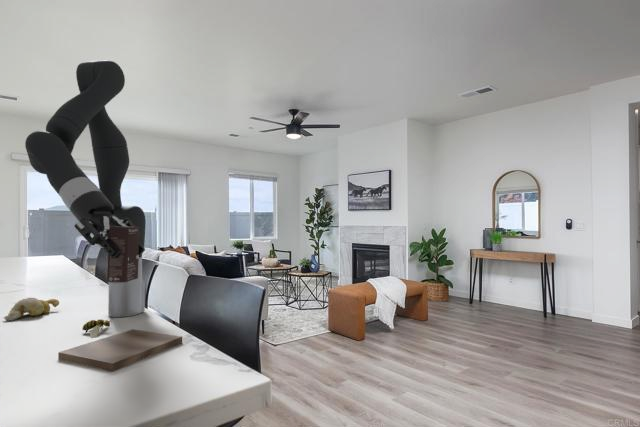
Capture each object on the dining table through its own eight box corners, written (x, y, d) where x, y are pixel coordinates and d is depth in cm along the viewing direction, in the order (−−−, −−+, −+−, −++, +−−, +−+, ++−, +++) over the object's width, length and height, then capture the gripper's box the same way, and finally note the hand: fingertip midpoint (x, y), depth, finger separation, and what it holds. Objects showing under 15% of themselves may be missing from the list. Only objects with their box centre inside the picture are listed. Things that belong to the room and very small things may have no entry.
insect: (88, 320, 102) (96, 304, 102) (110, 327, 104) (118, 311, 104) (73, 340, 91) (82, 321, 91) (98, 347, 93) (107, 329, 93)
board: (132, 335, 94) (132, 329, 94) (182, 343, 88) (182, 336, 88) (58, 359, 78) (58, 352, 78) (112, 371, 71) (112, 363, 71)
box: (127, 283, 80) (128, 226, 81) (106, 283, 80) (106, 226, 80) (140, 278, 86) (140, 226, 87) (120, 278, 86) (120, 226, 86)
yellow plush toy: (-5, 299, 111) (52, 288, 124) (-5, 319, 112) (52, 306, 125) (9, 308, 106) (67, 295, 119) (9, 328, 107) (67, 314, 120)
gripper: (68, 186, 78) (115, 244, 75) (120, 191, 92) (162, 240, 89) (47, 212, 80) (93, 270, 77) (101, 213, 94) (142, 262, 91)
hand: (130, 254), depth 83 cm, fingers closed on box, 6 cm apart
